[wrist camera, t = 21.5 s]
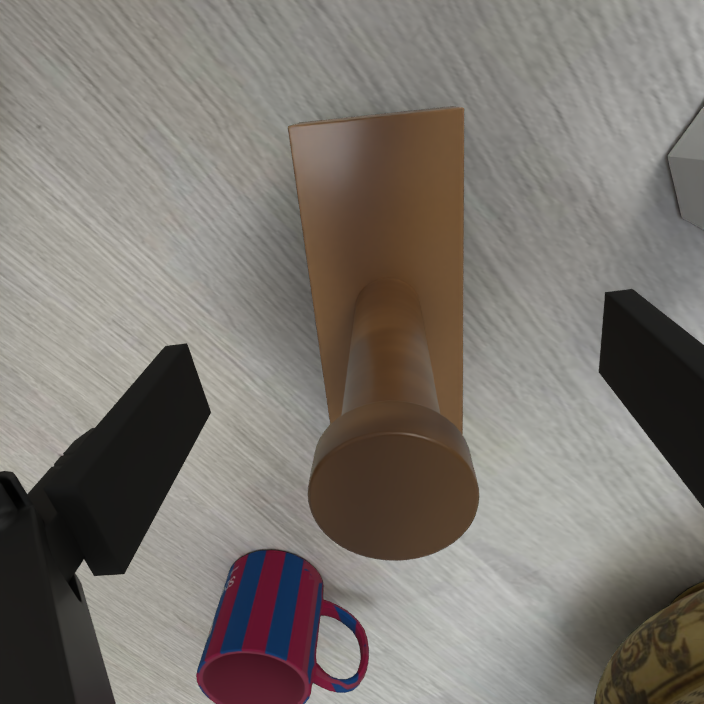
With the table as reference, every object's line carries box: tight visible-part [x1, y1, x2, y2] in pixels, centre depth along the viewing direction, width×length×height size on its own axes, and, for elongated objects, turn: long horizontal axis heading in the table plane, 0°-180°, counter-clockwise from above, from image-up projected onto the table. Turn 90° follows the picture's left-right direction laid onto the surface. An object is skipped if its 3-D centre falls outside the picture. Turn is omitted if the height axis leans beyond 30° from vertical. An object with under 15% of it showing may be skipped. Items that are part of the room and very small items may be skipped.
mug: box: [196, 550, 369, 704], centre depth 32 cm, size 7×10×7 cm
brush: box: [288, 106, 479, 561], centre depth 17 cm, size 6×14×15 cm, turn 6°
